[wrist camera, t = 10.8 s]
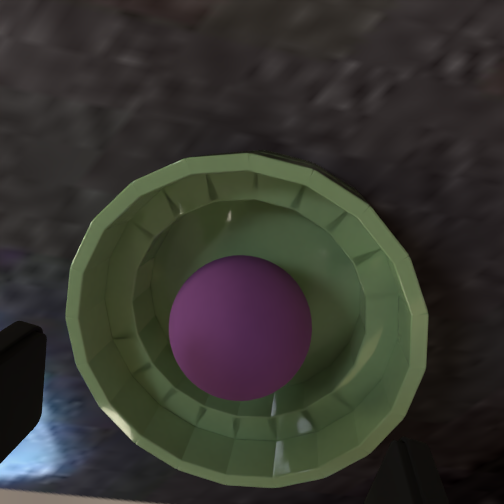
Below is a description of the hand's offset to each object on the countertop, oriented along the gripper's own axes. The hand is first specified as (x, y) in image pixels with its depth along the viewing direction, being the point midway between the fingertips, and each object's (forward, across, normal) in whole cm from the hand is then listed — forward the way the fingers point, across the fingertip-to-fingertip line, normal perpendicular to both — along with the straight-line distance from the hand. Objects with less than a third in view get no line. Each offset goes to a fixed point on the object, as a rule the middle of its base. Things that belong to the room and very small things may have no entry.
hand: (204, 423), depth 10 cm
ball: (+7, 0, +1) cm, 7 cm away
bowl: (+10, 0, +1) cm, 10 cm away
